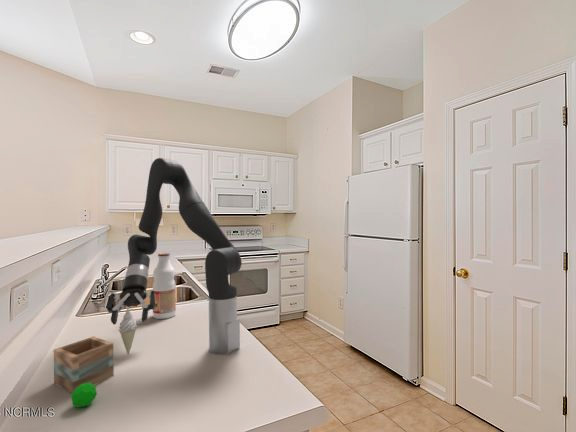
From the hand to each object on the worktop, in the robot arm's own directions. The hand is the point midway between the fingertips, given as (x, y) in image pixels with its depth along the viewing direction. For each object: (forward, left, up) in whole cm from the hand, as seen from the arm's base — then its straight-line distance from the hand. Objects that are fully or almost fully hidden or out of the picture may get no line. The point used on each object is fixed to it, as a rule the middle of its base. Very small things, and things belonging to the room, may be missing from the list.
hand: (128, 322), depth 98 cm
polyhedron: (-17, +22, -10) cm, 29 cm away
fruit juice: (+21, -30, -10) cm, 38 cm away
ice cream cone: (-1, +1, -10) cm, 10 cm away
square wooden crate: (-5, +16, -10) cm, 19 cm away
